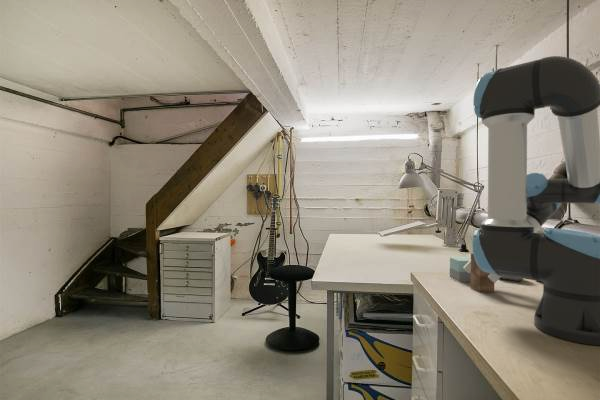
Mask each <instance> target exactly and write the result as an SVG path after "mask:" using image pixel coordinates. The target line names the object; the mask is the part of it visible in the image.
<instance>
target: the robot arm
mask: <svg viewBox="0 0 600 400" xmlns="http://www.w3.org/2000/svg"><path fill="white" fill-rule="evenodd" d="M473 107H474V108H473V111H474V114H475V116H476V117H477V118H478V119H481V123H482V124H483V125H484V126H485V127H486V128H487V129H488V130H487V131H488V132H487V133H488V134H487V135H488V137H487V139H488V141H487V143H488V144H487V146H488V148H487V152H488V153H487V156H488V157H487V158H488V159H487V217H486V218H485V219H484V220H482V222H481V224H480V228H478V229H476V230H475V231H474V232H473V235H472V245H471V246H472V253H473V254H474V258H475V261H476V263H477V265H478V267H479V268H480V269H481V270H482V271H484V272H486V273H490V275H489V276H488V278H489V279H490V280H491V281H492V282H493V283H494V284H496V283H497V282H498V280H500V279H501V278H500V277H501V276H502V275H503V276H510V277H516V278H522V280H524V279H525V280H530V281H535V282H536V281H537V282H542V283H543V285H542V286H543V292H542V296H541V298H540V301H539V303H538V305H537V307H536V309H535V312H534V317H533V321H534V322H533V324H534V326H535V327H536V328H537V329H539V330H540V331H541V332H543V333H546V334H548V335H550V336H553V337H555V338H559V339H562V340H567V341H570V342H573V343H579V344H584V345H593V346H600V235H598V234H594V233H590V232H584V231H579V230H572V229H565V228H557V227H556V228H555V227H545V228H543V231H542V233H540V232H537V231H539V229H540V228H542V226H543V225H544V224H545V223H546V222H547V221H548V220H549V219H550V218H551V217H552V216H553V215H555V213H557V211H558V209H559V208H560V207H561V205H562V204H582V205H583V204H584V205H585V204H587V205H589V204H590V205H595V204H600V126H599V113H598V108H599V107H600V81H599V80H598V78H597V77H596V75H595V74H594V73H593V71H591V69H590V68H588V67H587V66H586V65H584V64H583V63H582V62H580V61H577V60H575V59H573V58H571V57H567V56H561V55H560V56H558V55H552V56H546V57H542V58H540V59H536V60H532V61H527V62H523V63H520V64H516V65H511V66H507V67H503V68H497V69H496V70H493V71H489V72H486V73H484V74H483V75H481V76H480V77H479V79H478V81H477V83H476V85H475V88H474V93H473ZM549 107H550V110H551V113H552V114H553V116H556V117H557V121H558V127H559V128H558V129H559V135H560V137H561V138H560V139H561V145H562V151H563V157H564V164H565V169H566V175H567V178H550V179H548V178H547V177H546V175H544V174H542V173H538V172H530V173H528V171H527V169H528V124H529V123H530V122H531V121H533V119H535V111H536V110H538V109H544V108H549ZM463 268H464V269H465V270H466V271H467V272H468V273H470V272H471V260H470V261H469V262H468V263H467V264H466V265H465V266H464V267H463Z"/></svg>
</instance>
